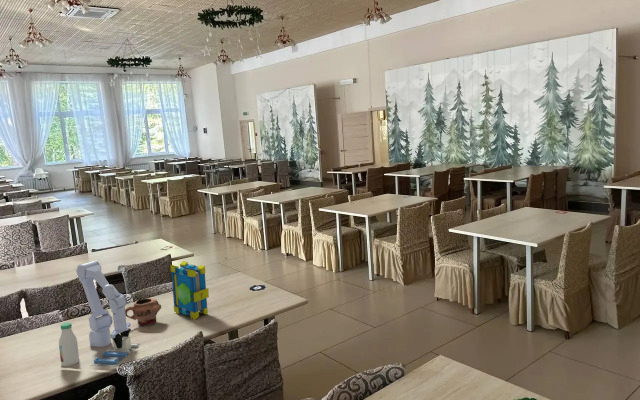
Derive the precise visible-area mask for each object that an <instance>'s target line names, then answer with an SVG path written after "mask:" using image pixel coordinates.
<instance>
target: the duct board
mask: <svg viewBox="0 0 640 400" xmlns="http://www.w3.org/2000/svg"><path fill="white" fill-rule="evenodd" d="M140 345H141V343H132V342H131V349H129V350H115V349H114V347H112V348H109V349H106V350H105V351H102V356H97V357H95V358H94V359H93V363H92V364H90V366H94V367H107V368H108V367H111V368H113V367H116V366H117V365H118V364H119V363H121V361H123V359H125V358H126V357H127V356H128V355H130V354H131V353H132V352H133V351H135V349H137V348H138V347H139V346H140Z"/></svg>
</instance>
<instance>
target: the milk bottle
mask: <svg viewBox="0 0 640 400" xmlns="http://www.w3.org/2000/svg"><path fill="white" fill-rule="evenodd" d="M72 328H73V326H72V322H64V323H61V324H60V330H61V333H60V336H59V340H58V347H59V357H60V365H61V366H63V367H69V366H73V365H75V364H77V363H79V361H80V354H79V346H78V339H77V337H76V335H75V333H74V332H73V329H72Z"/></svg>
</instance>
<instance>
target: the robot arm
mask: <svg viewBox="0 0 640 400" xmlns="http://www.w3.org/2000/svg"><path fill="white" fill-rule="evenodd" d="M75 270H76V274H77V277H78V279H79V282H80V283H81V285H82V287H83V290H84V294H85V297H86V299H87V301H88V305H89V307H90V310H91V313H90V315H89V317H88V322H89V329H91V330H90V331H89V334H88V337H89V339H88V340H89V347H97V348H103V347H107V346H109V345H111V344H112V341H113V340H114V342H115V344H116V346H117V348H122V338H123V336H125V337H130V333H131V330H132V329H131V328H130V327H132V326H131V322H130V321H129V322H127V317H126V314H125V309H126V307H125V306H127V305H128V299H127V297H126V296H125V295H124V294H122V293H120V292H119V291H118V290H117V288H116V287H115V286H114V285H113V284H109V283H110V282H108V280H107V278H106V276H105V275H104V273H103V271H102V265H101V263H100V262H99V261H98V260H96V259H95V260H93V261H89V262H86V263H82V264H78V265H77V267H76V269H75ZM94 281H95V282H96V283H97V284H98V285H99V286H100V287H101V288H102V291H101V292H102V294H104V296H105V298H106V299H107V300H108V305H109V308H110V310H111V313H112V315H111V314H110V312H109V310H107V309H104V308H103V305H102V303H101V300H100V297H99V294H98V291H97V289H96V285H95V283H94ZM112 324H113V330H112V332H111V330H110V328H111V326H112ZM111 339H112V340H111Z"/></svg>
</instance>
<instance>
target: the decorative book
mask: <svg viewBox="0 0 640 400" xmlns="http://www.w3.org/2000/svg"><path fill="white" fill-rule="evenodd" d="M170 273H171V282H172V284H171V285H172V295H173V296H172V297H173V312H176V313H178V314H177V315H180V314H183V315H186V316H189V317H190V319H191V318H193V319H192V320H194V319H196V320H197V319H198V318H199V317H200V314H204V315H207V313H208V310H209V309H208V301H207V299H208V298H210V295H209V288H208V287H207V286H206V266H205V265H203V264H199V265H198V266H196V264H195V265H194V264H191V263H190V264H189V262H188V261H185V260H183V261H182V262H180V264H179V266H177V265H173V264H170ZM176 313H175V314H176ZM208 314H209V313H208Z"/></svg>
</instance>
